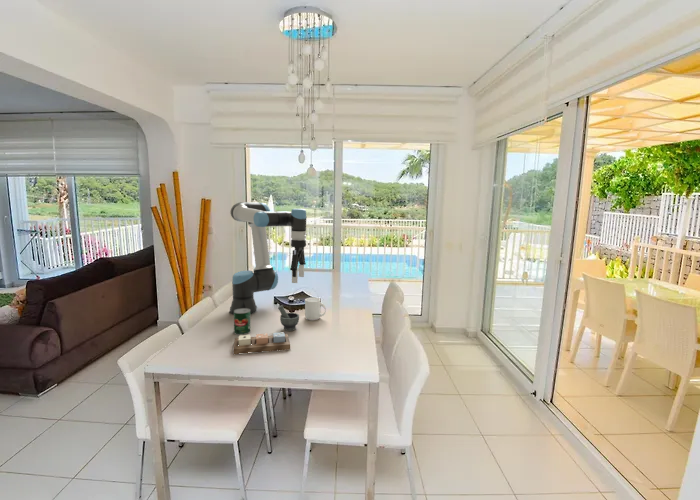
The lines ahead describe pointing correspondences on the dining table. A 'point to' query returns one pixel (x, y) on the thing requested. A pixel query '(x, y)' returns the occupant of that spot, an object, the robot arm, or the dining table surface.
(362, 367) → the dining table surface
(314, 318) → the mug
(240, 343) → the button block
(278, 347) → the button board
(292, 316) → the mortar and pestle
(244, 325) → the canned tomato
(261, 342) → the button block
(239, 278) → the robot arm
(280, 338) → the button block
